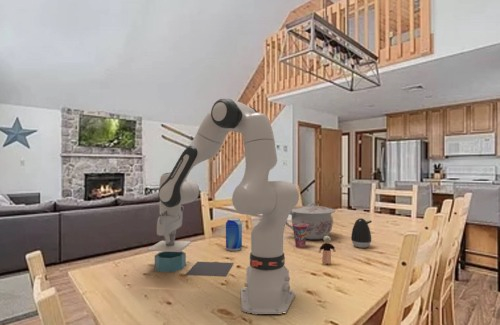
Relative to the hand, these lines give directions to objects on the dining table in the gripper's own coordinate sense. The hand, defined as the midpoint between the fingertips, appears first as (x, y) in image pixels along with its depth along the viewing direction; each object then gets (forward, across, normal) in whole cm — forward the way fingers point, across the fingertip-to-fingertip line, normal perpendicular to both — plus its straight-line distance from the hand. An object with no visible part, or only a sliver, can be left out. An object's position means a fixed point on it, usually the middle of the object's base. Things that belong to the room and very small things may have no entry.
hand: (170, 241), depth 137 cm
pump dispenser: (+12, +44, -89) cm, 100 cm away
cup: (+12, +41, -57) cm, 71 cm away
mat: (+12, 0, -18) cm, 21 cm away
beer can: (+12, +32, -22) cm, 41 cm away
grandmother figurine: (+12, +13, -68) cm, 70 cm away
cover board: (+2, 0, 0) cm, 2 cm away
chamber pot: (+12, +63, -64) cm, 91 cm away
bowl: (+12, 0, 0) cm, 12 cm away
